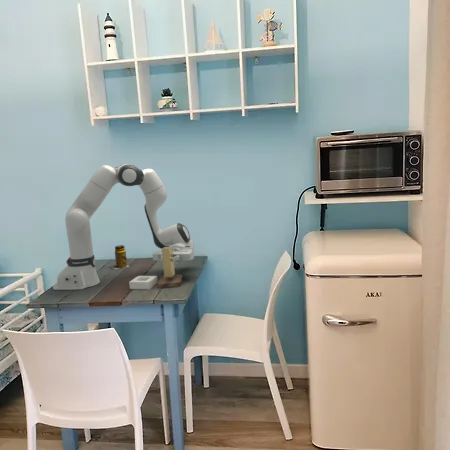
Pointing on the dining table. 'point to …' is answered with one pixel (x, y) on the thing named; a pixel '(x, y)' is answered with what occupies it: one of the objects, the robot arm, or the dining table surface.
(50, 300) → the dining table surface
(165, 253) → the peg
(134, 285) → the socket block
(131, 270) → the dining table surface
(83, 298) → the dining table surface
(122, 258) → the condiment
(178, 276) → the board
